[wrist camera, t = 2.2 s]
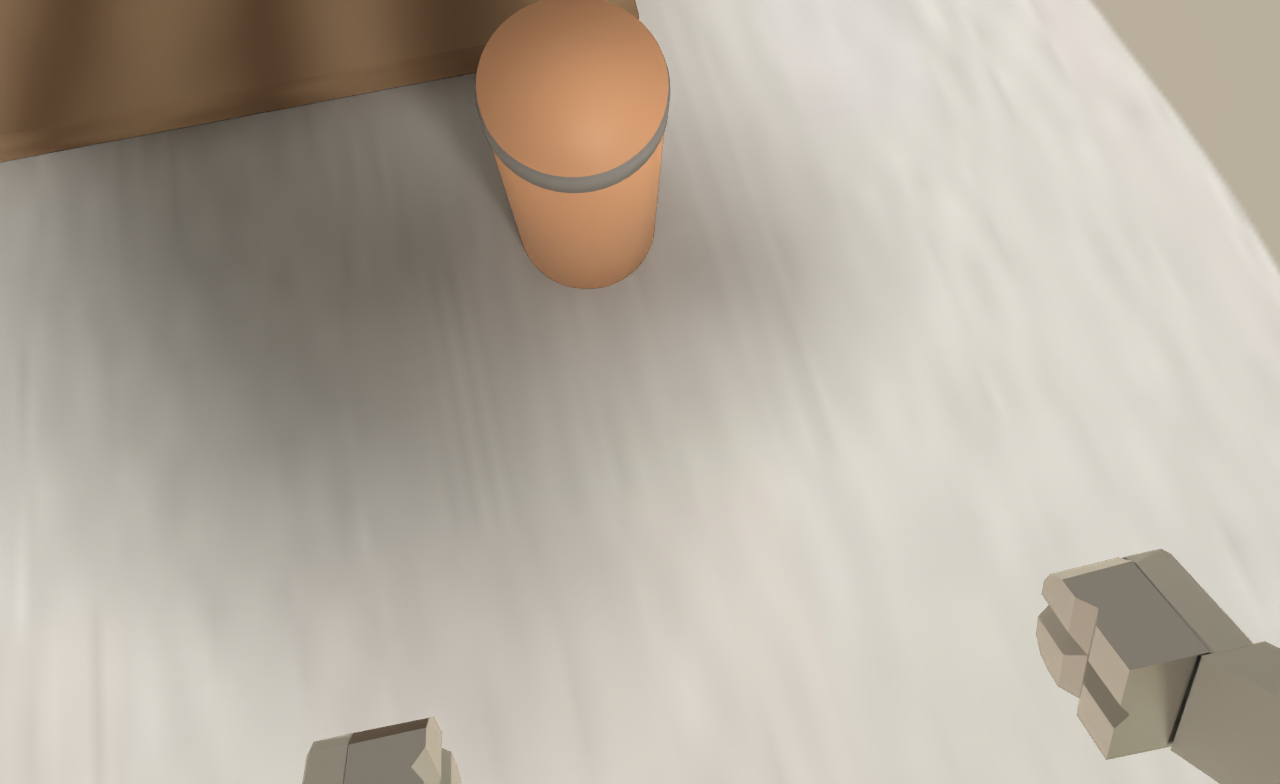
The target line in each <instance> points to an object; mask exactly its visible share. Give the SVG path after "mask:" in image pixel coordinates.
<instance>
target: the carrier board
mask: <svg viewBox="0 0 1280 784" xmlns="http://www.w3.org/2000/svg"><path fill="white" fill-rule="evenodd" d="M538 1H541V0H0V162H4V161H9V160H14V159H19V158H25V157H30V156H35V155H41V154H46V153H51V152H56V151H62V150H67V149H72V148H78V147H83V146H88V145H93V144H99V143H104V142H109V141H115V140H120V139H125V138H130V137H136V136H141V135H146V134H152V133H157V132H162V131H168V130H173V129H178V128H183V127H189V126H194V125H199V124H205V123H210V122H215V121H220V120H226V119H231V118H236V117H242V116H247V115H252V114H257V113H263V112H268V111H273V110H279V109H284V108H289V107H294V106H300V105H305V104H310V103H316V102H321V101H326V100H331V99H337V98H342V97H347V96H353V95H358V94H363V93H368V92H374V91H379V90H384V89H390V88H395V87H400V86H406V85H411V84H416V83H421V82H427V81H432V80H437V79H443V78H448V77H453V76H458V75H464V74H469V73H474V72H477V69H478V64H479V61H480V58H481V55H482V52H483V50H484V48H485V46H486V44H487V42H488V41H489V39H490V38H491V36H492V35H493V33H494V32H495V31H496V30H497V29H498V28H499V26H500V25H501V24H502V23H503V22H505V21H506V20H507V19H508V18H509V17H510V16H512V15H513V14H515V13H516V12H517V11H519V10H521V9H523V8H525V7H526V6H528V5H530V4H533V3H536V2H538ZM604 1H606V2H609V3H612V4H614V5H616V6H618V7H620V8H622V9H624V10H626V11H627V12H629V13H630V14H632V15H633V16H634V17H636V18H637V19H638V20H639V14H638V10H637V6H636V2H635V0H604Z"/></svg>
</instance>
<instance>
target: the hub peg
mask: <svg viewBox="0 0 1280 784" xmlns="http://www.w3.org/2000/svg"><path fill="white" fill-rule="evenodd" d="M475 97H476V105H477V109H478V113H479V116H480V120H481V123H482V126H483V129H484V132H485V134H486V137H487V139H488V141H489V144H490V145H491V147H492V150H493V153H494V156H495V159H496V162H497V165H498V168H499V172H500V175H501V178H502V181H503V184H504V187H505V190H506V193H507V196H508V200H509V203H510V206H511V209H512V212H513V215H514V218H515V221H516V224H517V228H518V231H519V234H520V237H521V240H522V243H523V246H524V248H525V251H526V253H527V255H528V256H529V258H530V260H531V261H532V262H533V264H534V265H535V266H536V267H537V268H538V269H539V270H540V271H541V272H542V273H543V274H545V275H546V276H547V277H549V278H550V279H552V280H554V281H556V282H558V283H560V284H563V285H565V286H569V287H573V288H580V289H594V288H601V287H605V286H609V285H611V284H614V283H616V282H619V281H620V280H622V279H624V278H625V277H627V276H628V275H629V274H631V273H632V272H633V271H634V270H635V269H636V268H637V267H638V266H639V265H640V264H641V262H642V261H643V260H644V258H645V257H646V255H647V253H648V251H649V249H650V246H651V244H652V240H653V236H654V228H655V219H656V209H657V199H658V188H659V178H660V168H661V158H662V148H663V138H664V131H665V127H666V123H667V118H668V109H669V100H670V78H669V72H668V68H667V65H666V61H665V58H664V56H663V53H662V51H661V49H660V47H659V45H658V43H657V41H656V40H655V38H654V37H653V35H652V34H651V33H650V31H649V30H648V29H647V28H646V27H645V26H644V25H643V24H642V23H641V22H640V21H639V20H638V19H637V18H636V17H634V16H633V15H632V14H630V13H629V12H627V11H626V10H624V9H622V8H620V7H618V6H616V5H614V4H612V3H609V2H606V1H604V0H541V1H538V2H536V3H533V4H530V5H528V6H526V7H525V8H523V9H521V10H519V11H517V12H516V13H515V14H513V15H512V16H510V17H509V18H508V19H507V20H506V21H505V22H503V23H502V24H501V25H500V26H499V28H498V29H497V30H496V31H495V32H494V33H493V35H492V36H491V38H490V39H489V41H488V42H487V44H486V46H485V48H484V50H483V52H482V55H481V58H480V61H479V64H478V69H477V74H476V81H475Z"/></svg>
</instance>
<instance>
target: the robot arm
mask: <svg viewBox="0 0 1280 784" xmlns="http://www.w3.org/2000/svg"><path fill="white" fill-rule="evenodd" d="M1042 595H1043V597H1044V598H1045V600H1046V601H1047V603H1048V604H1049V605H1048V606H1047V608H1046V609H1045V610H1044V611H1043V612H1042V613H1041V614H1040V615H1039V616H1038V621H1037V631H1036V636H1037V640H1038V645H1039V650H1040V654H1041V656H1042V659H1043V661H1044V663H1045V665H1046V667H1047V670H1048V671H1049V673H1050V674H1051V676H1052V678H1053V679H1054V681H1055V682H1056V684H1057V686H1058V687H1060V688H1062V689H1064V690H1065V691H1067V692H1069V693H1071V694H1073V695H1074V696H1076V697H1078V698H1079V700H1078V709H1077V716H1078V718H1079V719H1080V721H1081V722H1082V724H1083V725H1084V727H1085V729H1086V730H1087V732H1088V733H1089V735H1090V736H1091V738H1092V739H1093V741H1094V742H1095V744H1096V745H1097V747H1098V748H1099V750H1100V751H1101V753H1102V754H1103V756H1104V757H1105V759H1106V760H1108V759H1113V758H1118V757H1122V756H1127V755H1132V754H1137V753H1141V752H1146V751H1151V750H1156V749H1161V748H1165V747H1170V746H1172V747H1171V751H1173V752H1174V753H1176V754H1177V755H1179V756H1180V757H1182V758H1183V759H1185V760H1186V761H1188V762H1189V763H1191V764H1192V765H1193V766H1195V767H1196V768H1198V769H1199V770H1201V771H1202V772H1204V773H1205V774H1207V775H1208V776H1210V777H1211V778H1213V779H1214V780H1215V781H1217V782H1218V783H1220V784H1280V648H1278V647H1276V646H1274V645H1271V644H1269V643H1267V642H1259V643H1254V644H1253V642H1252V641H1251V640H1250V639H1249V638H1248V637H1247V636H1246V635H1245V634H1244V633H1243V632H1242V631H1241V629H1240V628H1239V627H1238V626H1237V625H1236V624H1235V623H1234V622H1233V621H1232V620H1231V619H1230V618H1229V616H1228V615H1227V614H1226V613H1225V612H1224V611H1223V610H1222V609H1221V608H1220V607H1219V606H1218V604H1217V603H1216V602H1215V601H1214V600H1213V599H1212V598H1211V597H1210V596H1209V595H1208V594H1207V593H1206V591H1205V590H1204V589H1203V588H1202V587H1201V586H1200V585H1199V584H1198V583H1197V582H1196V581H1195V580H1194V578H1193V577H1192V576H1191V575H1190V574H1189V573H1188V572H1187V571H1186V570H1185V569H1184V568H1183V567H1182V565H1181V564H1180V563H1179V562H1178V561H1177V560H1176V559H1175V558H1174V557H1173V556H1172V555H1171V554H1170V553H1168V552H1166V551H1164V550H1162V549H1158V550H1152V551H1148V552H1144V553H1140V554H1136V555H1131V556H1127V557H1124V558H1114V559H1110V560H1106V561H1102V562H1098V563H1094V564H1090V565H1085V566H1081V567H1077V568H1073V569H1069V570H1065V571H1061V572H1057V573H1053V574H1050V575H1049V576H1048V577H1047V578H1046V579H1045V580H1044V584H1043V589H1042ZM302 784H461V779H460V775H459V771H458V768H457V764H456V762H455V759H454V757H453V755H452V753H451V752H450V751H448V750H445V749H443V748H442V731H441V729H440V727H439V725H438V723H437V722H436V720H435V718H434V717H430V718H425V719H420V720H415V721H411V722H406V723H401V724H396V725H391V726H386V727H381V728H376V729H371V730H366V731H362V732H357V733H351V734H347V735H342V736H338V737H333V738H329V739H324V740H320V741H315V742H313V744H312V747H311V749H310V751H309V753H308V755H307V759H306V765H305V771H304V777H303V783H302Z"/></svg>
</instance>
